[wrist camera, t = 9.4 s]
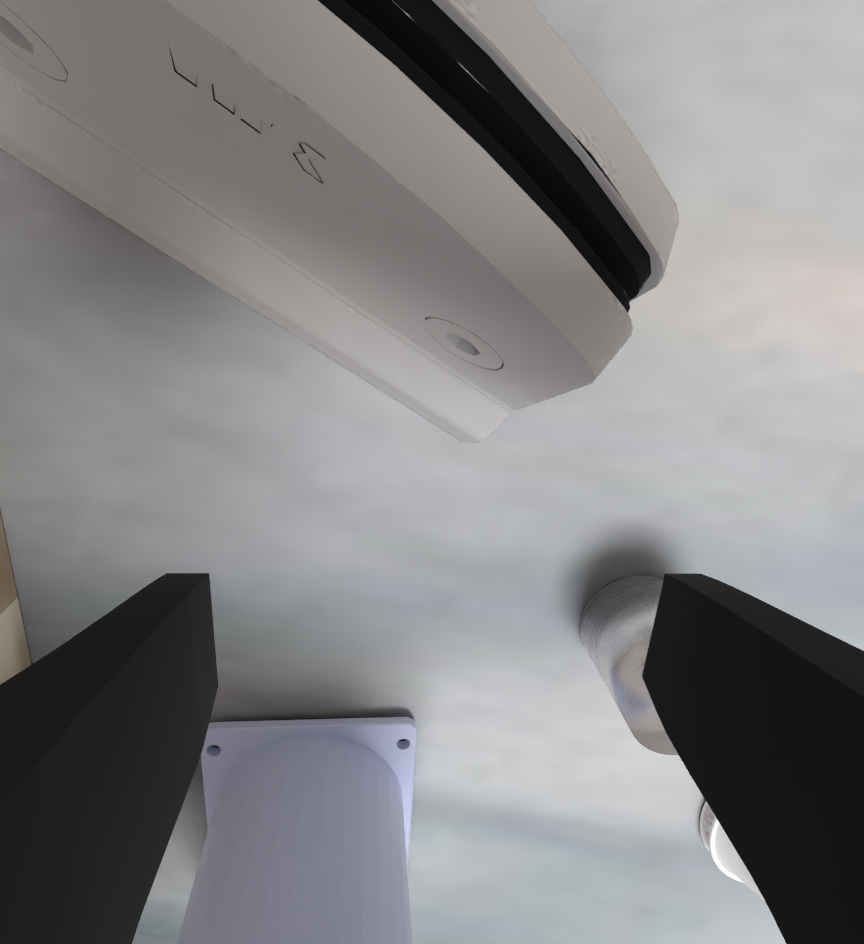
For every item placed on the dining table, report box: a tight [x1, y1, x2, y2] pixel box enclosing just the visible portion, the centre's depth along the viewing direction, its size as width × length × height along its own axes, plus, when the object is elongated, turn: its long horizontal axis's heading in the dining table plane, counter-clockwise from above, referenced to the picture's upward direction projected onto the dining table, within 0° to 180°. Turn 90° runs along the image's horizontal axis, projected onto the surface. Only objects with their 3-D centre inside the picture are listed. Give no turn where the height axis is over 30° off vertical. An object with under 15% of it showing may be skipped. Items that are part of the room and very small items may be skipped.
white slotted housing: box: [0, 0, 678, 443], centre depth 13 cm, size 17×5×10 cm, turn 56°
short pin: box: [580, 575, 678, 755], centre depth 21 cm, size 4×4×4 cm
